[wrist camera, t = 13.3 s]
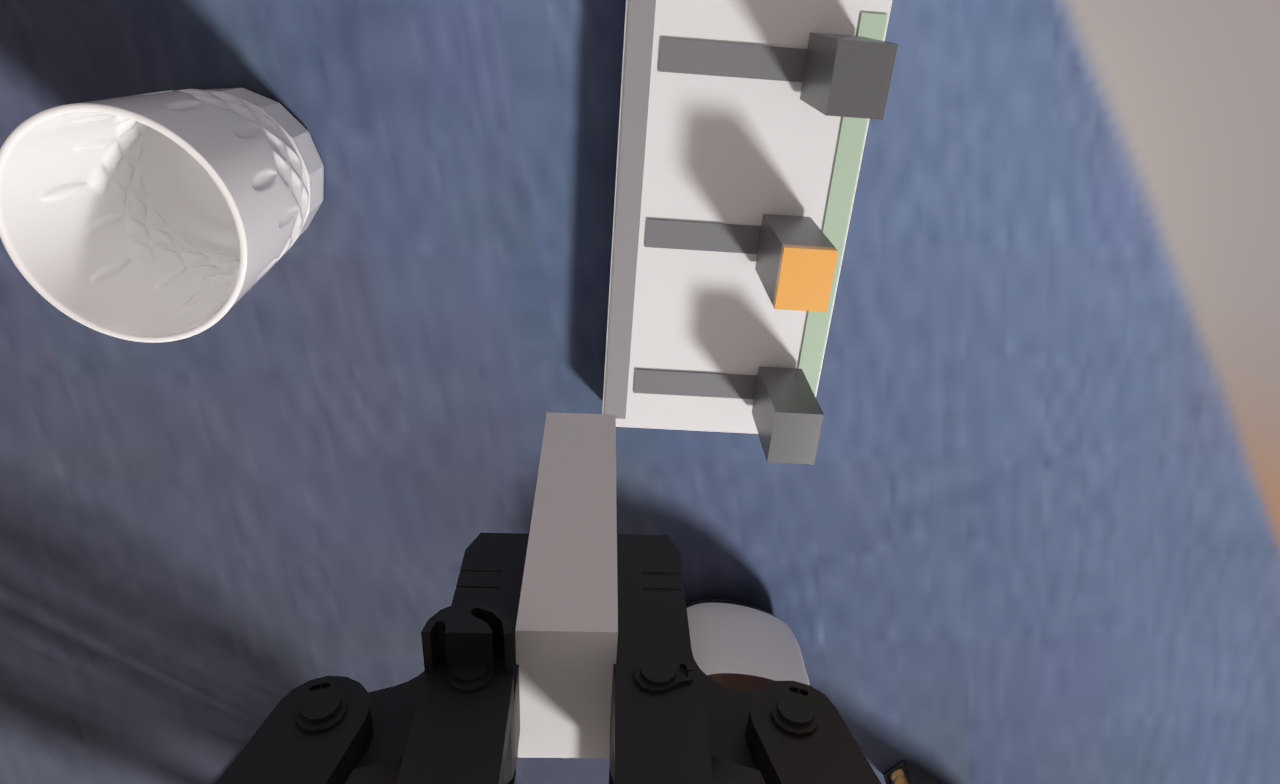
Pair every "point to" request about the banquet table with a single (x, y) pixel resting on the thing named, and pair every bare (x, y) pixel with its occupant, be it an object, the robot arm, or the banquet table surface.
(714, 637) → the spread jar
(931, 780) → the ammunition clip
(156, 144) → the white cup
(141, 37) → the banquet table surface
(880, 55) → the handle
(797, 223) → the handle
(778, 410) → the handle
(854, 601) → the banquet table surface
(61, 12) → the banquet table surface
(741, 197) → the breaker panel
